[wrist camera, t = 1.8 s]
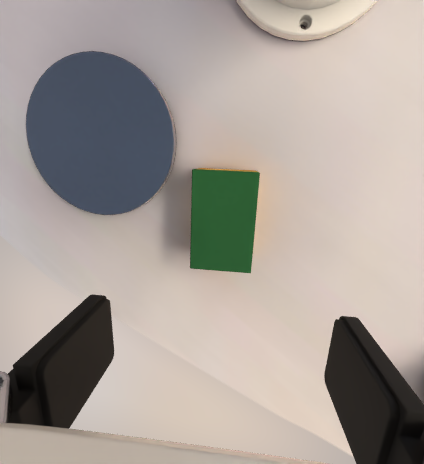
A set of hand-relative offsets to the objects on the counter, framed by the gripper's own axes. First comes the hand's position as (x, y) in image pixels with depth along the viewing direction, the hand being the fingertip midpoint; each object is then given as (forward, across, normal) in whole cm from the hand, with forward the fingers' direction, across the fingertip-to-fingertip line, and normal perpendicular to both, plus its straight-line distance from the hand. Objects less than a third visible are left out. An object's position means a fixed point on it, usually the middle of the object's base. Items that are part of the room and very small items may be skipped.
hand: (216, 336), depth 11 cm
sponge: (+14, 0, -2) cm, 15 cm away
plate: (+14, +12, -8) cm, 20 cm away
